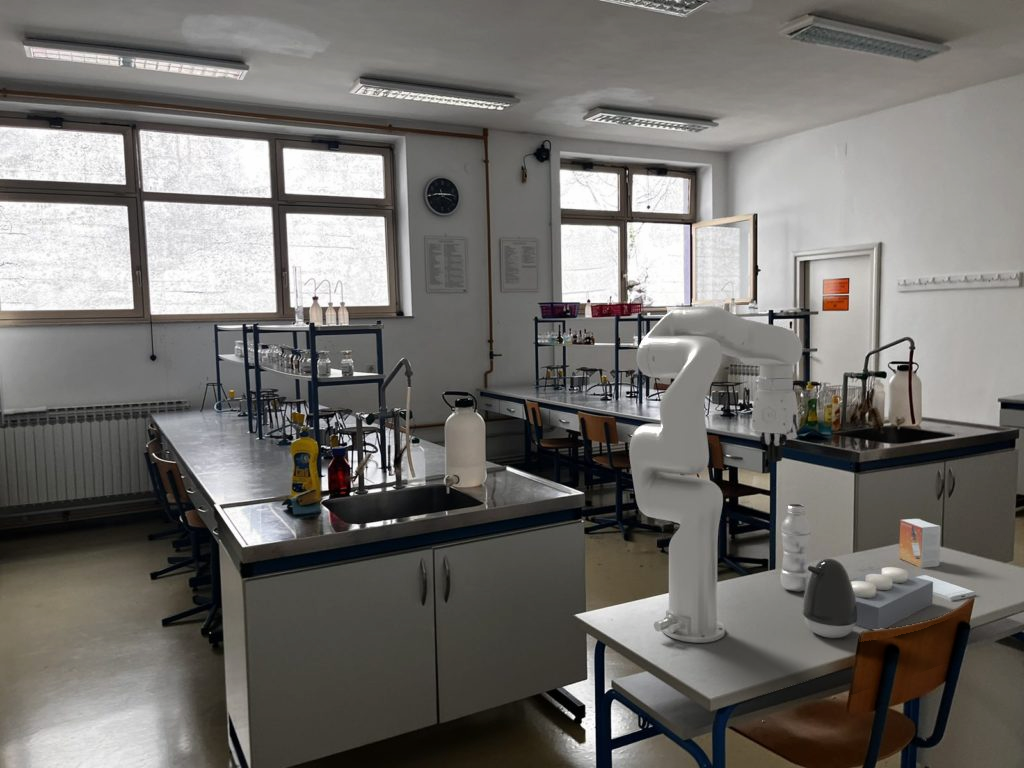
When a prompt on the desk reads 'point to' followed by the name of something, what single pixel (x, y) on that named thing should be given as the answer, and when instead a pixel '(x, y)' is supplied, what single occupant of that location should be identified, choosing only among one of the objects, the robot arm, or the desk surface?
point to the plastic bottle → (795, 549)
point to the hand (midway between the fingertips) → (775, 460)
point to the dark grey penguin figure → (829, 600)
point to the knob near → (864, 589)
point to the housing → (893, 602)
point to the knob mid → (880, 581)
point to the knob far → (896, 574)
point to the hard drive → (947, 589)
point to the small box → (919, 542)
